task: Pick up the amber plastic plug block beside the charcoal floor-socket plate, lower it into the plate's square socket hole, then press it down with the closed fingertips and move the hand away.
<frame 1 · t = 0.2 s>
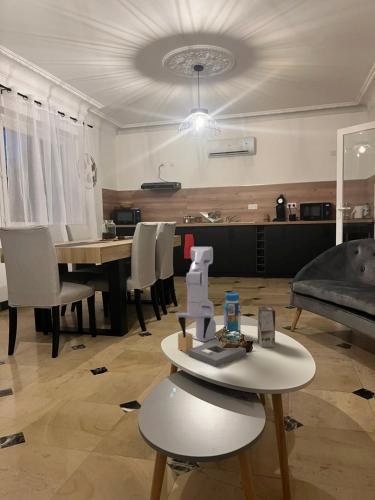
hand: (194, 337, 139), 11 cm above the table, tool pointing down, fingers open, 7 cm apart
socket plate: (216, 355, 149), on the table
plug: (185, 349, 156), on the table
beverage bottle: (232, 334, 177), on the table
coffee box: (266, 344, 162), on the table
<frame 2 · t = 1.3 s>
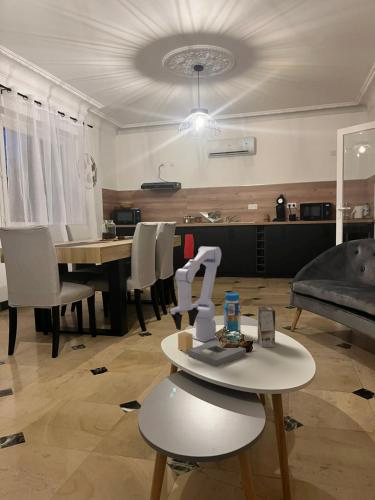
hand: (185, 327, 155), 10 cm above the table, tool pointing down, fingers open, 7 cm apart
nothing on the table moved.
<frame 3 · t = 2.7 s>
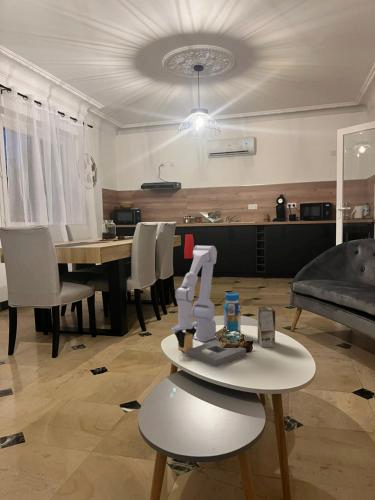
hand: (185, 345, 156), 2 cm above the table, tool pointing down, fingers closed on plug, 4 cm apart
plug: (185, 349, 156), on the table, touching gripper
everything else where it was.
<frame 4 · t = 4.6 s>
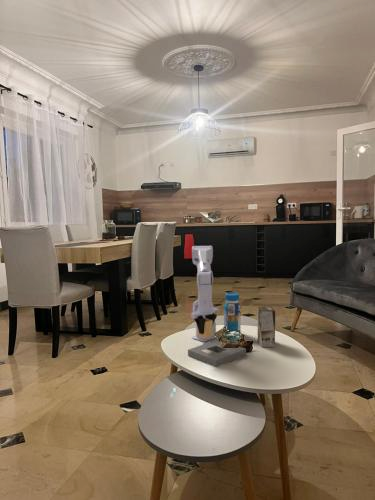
hand: (205, 332, 151), 9 cm above the table, tool pointing down, fingers closed on plug, 4 cm apart
plug: (205, 336, 151), point 7 cm above the table, touching gripper
everything else where it was.
when the fingers open (3 cm above the table, at t = 6.8 s): plug drops 1 cm, resting in socket plate.
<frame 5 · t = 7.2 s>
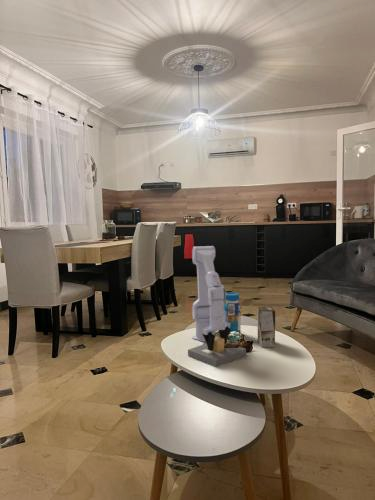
hand: (216, 347, 149), 3 cm above the table, tool pointing down, fingers open, 7 cm apart
plug: (216, 355, 149), resting in socket plate
everything else where it was.
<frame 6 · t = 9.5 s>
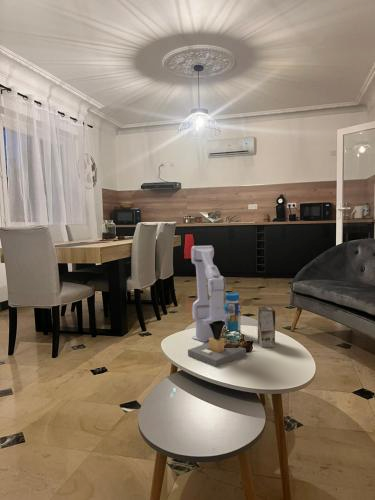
hand: (216, 338, 148), 7 cm above the table, tool pointing down, fingers closed, pressing on plug
plug: (216, 355, 149), resting in socket plate, touching gripper
everything else where it was.
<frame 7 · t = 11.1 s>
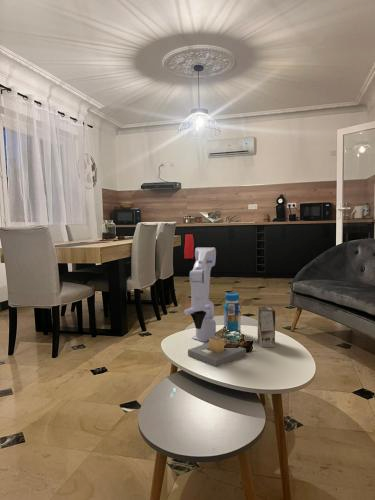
hand: (198, 328, 155), 9 cm above the table, tool pointing down, fingers closed
plug: (216, 355, 149), resting in socket plate
everything else where it was.
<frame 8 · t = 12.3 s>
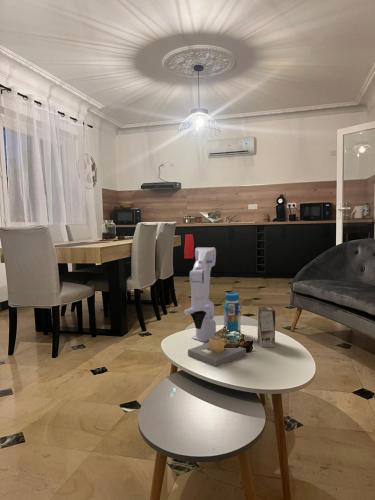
hand: (198, 328, 155), 9 cm above the table, tool pointing down, fingers closed
nothing on the table moved.
at the end: plug 0.2 cm off-centre on the socket plate, point 0.0 cm above the socket plate's base; plug tilted 0°; the gripper is holding nothing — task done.
